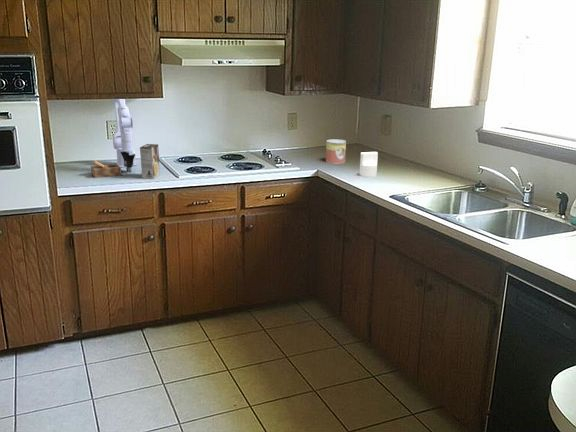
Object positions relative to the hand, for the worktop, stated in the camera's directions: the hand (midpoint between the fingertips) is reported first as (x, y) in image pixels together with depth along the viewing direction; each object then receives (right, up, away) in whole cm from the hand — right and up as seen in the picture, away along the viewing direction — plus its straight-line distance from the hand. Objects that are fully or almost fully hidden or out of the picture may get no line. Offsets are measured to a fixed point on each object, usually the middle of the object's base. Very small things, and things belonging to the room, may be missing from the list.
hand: (128, 166), depth 312 cm
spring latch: (-13, 0, -9) cm, 16 cm away
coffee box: (+14, -6, -8) cm, 17 cm away
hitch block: (-10, -5, -5) cm, 12 cm away
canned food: (+111, +5, +33) cm, 116 cm away
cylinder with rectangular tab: (+126, -5, +3) cm, 126 cm away
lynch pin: (0, -3, +1) cm, 3 cm away
